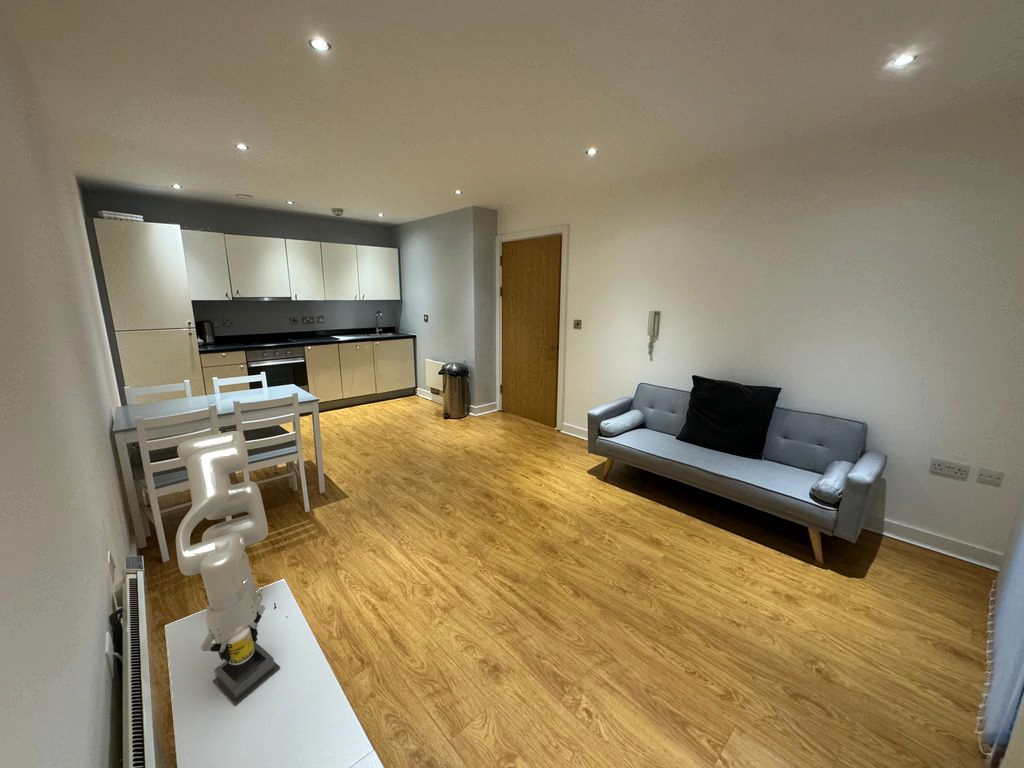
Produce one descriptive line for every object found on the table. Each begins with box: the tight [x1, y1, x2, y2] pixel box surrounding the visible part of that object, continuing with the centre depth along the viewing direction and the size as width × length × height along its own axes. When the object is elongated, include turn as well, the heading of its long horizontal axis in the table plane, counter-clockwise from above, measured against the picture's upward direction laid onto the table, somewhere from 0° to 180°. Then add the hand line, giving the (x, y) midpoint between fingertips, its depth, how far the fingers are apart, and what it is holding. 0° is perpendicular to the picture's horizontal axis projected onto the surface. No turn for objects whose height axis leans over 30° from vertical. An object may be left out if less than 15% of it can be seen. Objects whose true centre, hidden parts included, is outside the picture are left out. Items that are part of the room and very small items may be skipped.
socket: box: [211, 641, 281, 707], centre depth 113 cm, size 12×12×4 cm
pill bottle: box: [226, 625, 255, 665], centre depth 110 cm, size 6×6×11 cm
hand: (240, 648), depth 110 cm, fingers closed on pill bottle, 6 cm apart
